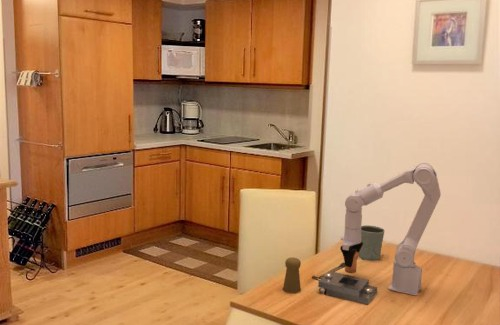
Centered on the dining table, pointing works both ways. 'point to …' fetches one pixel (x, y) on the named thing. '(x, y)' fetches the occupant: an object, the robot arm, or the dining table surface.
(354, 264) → the pin
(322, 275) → the tomahawk
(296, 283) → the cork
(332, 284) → the link upper
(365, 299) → the link lower
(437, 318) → the dining table surface
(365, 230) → the green cup
